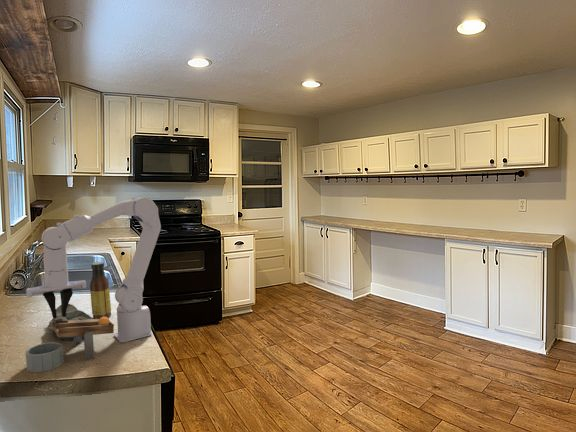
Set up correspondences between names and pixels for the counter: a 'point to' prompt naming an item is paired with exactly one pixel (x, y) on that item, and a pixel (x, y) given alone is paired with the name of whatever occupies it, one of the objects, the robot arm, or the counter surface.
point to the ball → (104, 321)
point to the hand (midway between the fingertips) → (59, 316)
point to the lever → (79, 327)
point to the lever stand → (86, 343)
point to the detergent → (69, 317)
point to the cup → (44, 357)
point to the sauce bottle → (99, 292)
